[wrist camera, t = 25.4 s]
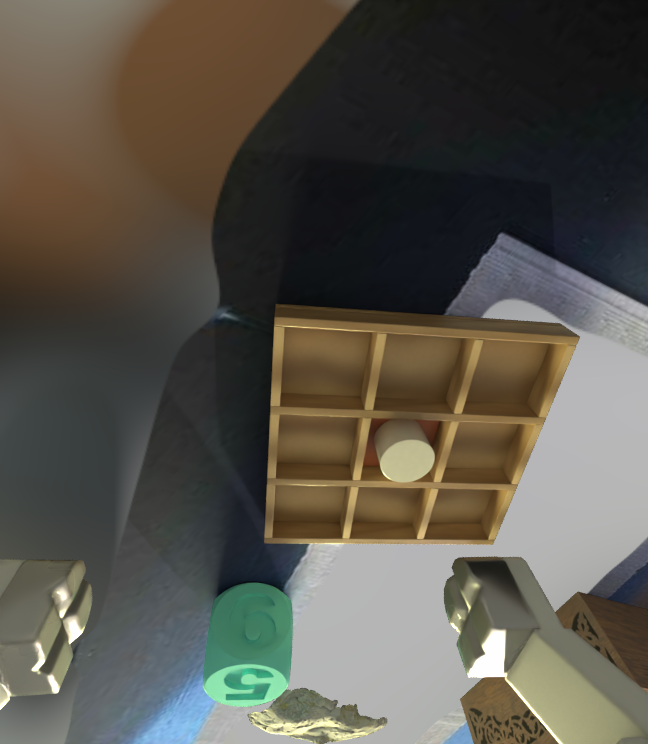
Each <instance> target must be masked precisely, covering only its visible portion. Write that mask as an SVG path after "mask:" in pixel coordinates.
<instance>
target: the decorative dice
mask: <svg viewBox="0 0 648 744" xmlns="http://www.w3.org/2000/svg"><path fill="white" fill-rule="evenodd" d="M292 629H293V619H292V603H291V600H290V599H289V598H288V597H287V596H286V595H285V594H284V593H283V592H282V591H280V590H279V589H277V588H275V587H273V586H271V585H268V584H264V583H243V584H239V585H236V586H233V587H231V588H229V589H227V590H226V591H224V592H223V593H222V594H220V595H219V596H218V597H217V598H216V599H215V600H214V603H213V607H212V612H211V618H210V624H209V631H208V638H207V646H206V654H205V663H204V675H203V689H204V690H205V691H206V693H207V694H208V695H209V696H210V697H211V698H212V699H214V700H215V701H217V702H219V703H222V704H226V705H230V706H240V707H246V706H256V705H261V704H264V703H267V702H270V701H272V700H274V699H276V698H277V697H279V696H280V695H281V694H282V693H283V692H284V691H285V690H286V688H287V687H288V684H289V678H290V669H291V654H292Z"/></svg>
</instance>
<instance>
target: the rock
mask: <svg viewBox="0 0 648 744" xmlns="http://www.w3.org/2000/svg"><path fill="white" fill-rule="evenodd" d="M337 703H338V701H337V700H334V701H330V700H329V699H327V698H323V697H322V696H320V694H318V693H316V692H315V691H313V690H310V691H309V690H308V689H306V688H300V689H295V690H292V691H290V690H285V691H284V692H283V693H282V694H281V695H280V696H279V697H277V698H276V701H274V702H273V704H272V705H271V706H270V707H269V709H266V710H264V711H263V712H261V713H260V712H252V714H248V717H249V718H250V719H249V720H250V721H251V722H252V724H253V725H255V726H257V727H259V728H261V729H263V730H264V731H266V732H269V733H272V734H285V735H287V736H290V737H293V738H296V739H303V740H307V741H309V742H313V743H316V744H324V743H327V742H329V741H331V742H333V741H341V740H346V739H351V738H356V737H358V738H359V737H361V736H366V735H369V734H371V733H374V732H375V731H377V730H379V729H381V728H383V727H384V726H385V725H386V724H387V718H385V717H383V718H380V719H372V718H370V717H367V716H360V715H359V713H358V710H357V705H356V704H355V705H354V706H353V705H347V706H346V705H343V706H342V707H341V708H339V707H336V705H337Z"/></svg>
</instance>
